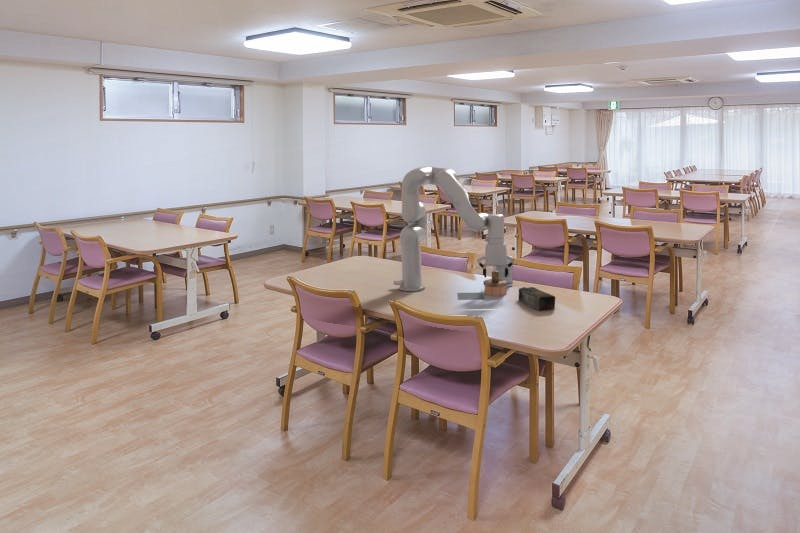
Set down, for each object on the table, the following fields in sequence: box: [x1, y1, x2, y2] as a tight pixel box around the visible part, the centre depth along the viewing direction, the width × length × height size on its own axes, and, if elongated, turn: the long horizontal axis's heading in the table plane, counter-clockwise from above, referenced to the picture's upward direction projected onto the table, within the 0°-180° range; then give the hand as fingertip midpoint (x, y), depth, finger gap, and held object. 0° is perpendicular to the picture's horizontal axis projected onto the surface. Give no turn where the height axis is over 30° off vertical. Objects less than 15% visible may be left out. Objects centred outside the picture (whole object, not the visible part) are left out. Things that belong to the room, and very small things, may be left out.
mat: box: [456, 292, 485, 301], centre depth 282 cm, size 12×12×1 cm
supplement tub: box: [492, 254, 514, 287], centre depth 300 cm, size 10×10×15 cm
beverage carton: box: [518, 286, 556, 312], centre depth 266 cm, size 8×19×7 cm, turn 17°
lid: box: [483, 270, 507, 287], centre depth 284 cm, size 11×11×6 cm
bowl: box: [484, 285, 508, 297], centre depth 285 cm, size 10×10×5 cm
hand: (495, 276), depth 284 cm, fingers open, 9 cm apart
